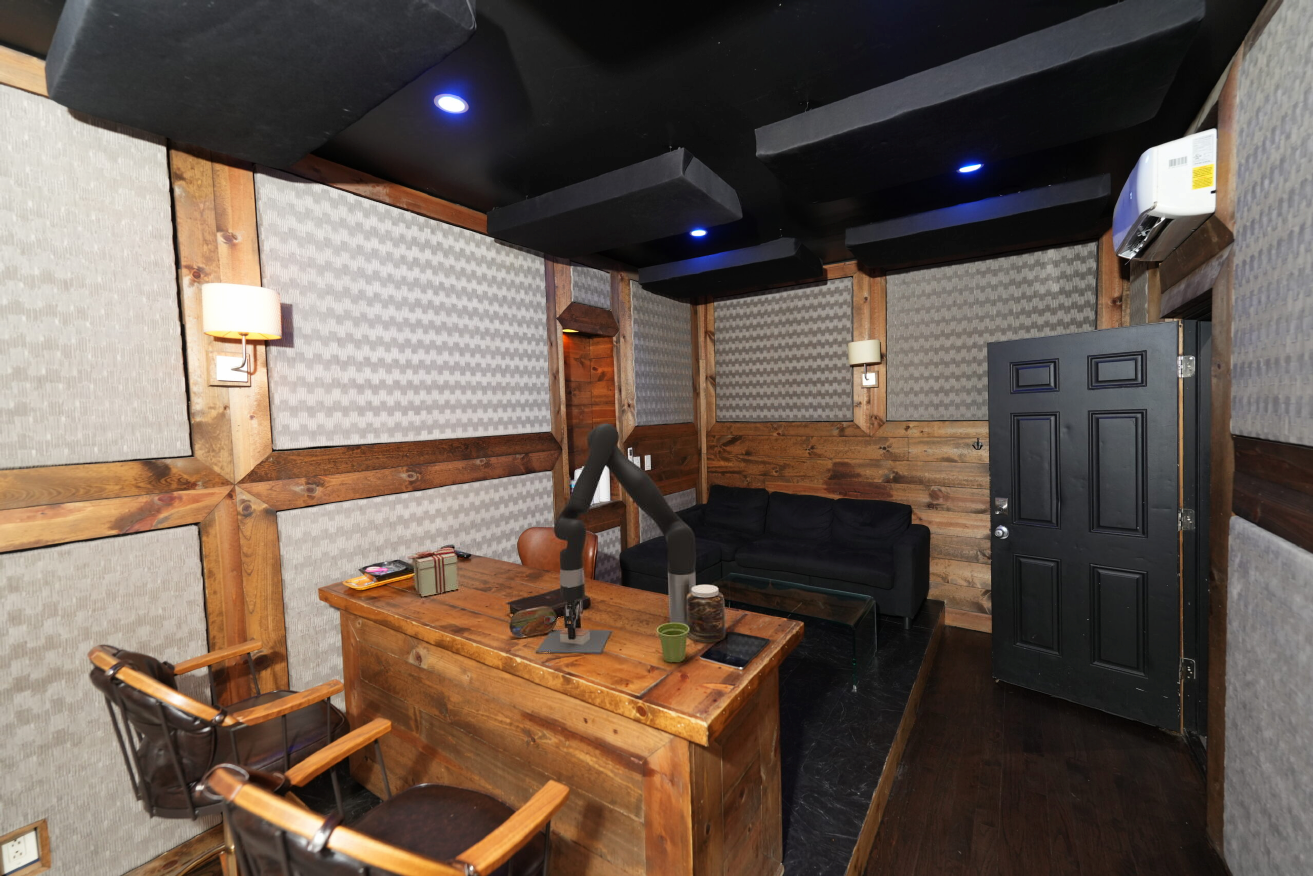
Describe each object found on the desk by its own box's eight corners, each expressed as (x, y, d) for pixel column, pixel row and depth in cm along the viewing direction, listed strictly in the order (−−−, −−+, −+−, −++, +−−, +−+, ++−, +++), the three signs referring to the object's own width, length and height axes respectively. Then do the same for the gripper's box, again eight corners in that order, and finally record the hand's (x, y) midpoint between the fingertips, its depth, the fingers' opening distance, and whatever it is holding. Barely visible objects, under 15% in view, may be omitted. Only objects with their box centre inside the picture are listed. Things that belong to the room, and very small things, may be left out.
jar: (714, 625, 175) (713, 580, 174) (732, 638, 164) (730, 591, 163) (682, 632, 171) (680, 586, 170) (697, 646, 160) (695, 597, 159)
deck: (568, 635, 170) (567, 626, 170) (589, 639, 167) (589, 629, 167) (560, 641, 166) (559, 632, 166) (582, 644, 163) (582, 635, 162)
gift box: (446, 580, 237) (444, 542, 236) (461, 589, 223) (459, 549, 222) (406, 589, 226) (403, 549, 225) (419, 600, 212) (416, 557, 211)
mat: (611, 631, 173) (611, 630, 173) (600, 654, 157) (600, 652, 157) (552, 631, 175) (552, 629, 175) (535, 653, 159) (535, 651, 159)
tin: (510, 640, 169) (508, 614, 169) (510, 637, 172) (508, 611, 172) (558, 631, 173) (555, 606, 173) (557, 627, 176) (554, 603, 176)
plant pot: (651, 659, 153) (649, 629, 152) (673, 648, 159) (672, 619, 159) (674, 669, 146) (673, 638, 146) (697, 657, 153) (696, 628, 152)
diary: (591, 610, 196) (591, 596, 195) (531, 630, 179) (530, 616, 179) (563, 597, 209) (563, 585, 209) (505, 615, 193) (504, 602, 192)
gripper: (567, 574, 173) (569, 625, 174) (553, 589, 159) (556, 644, 159) (589, 574, 172) (591, 625, 173) (578, 589, 158) (580, 644, 159)
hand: (574, 634), depth 166 cm, fingers open, 6 cm apart
